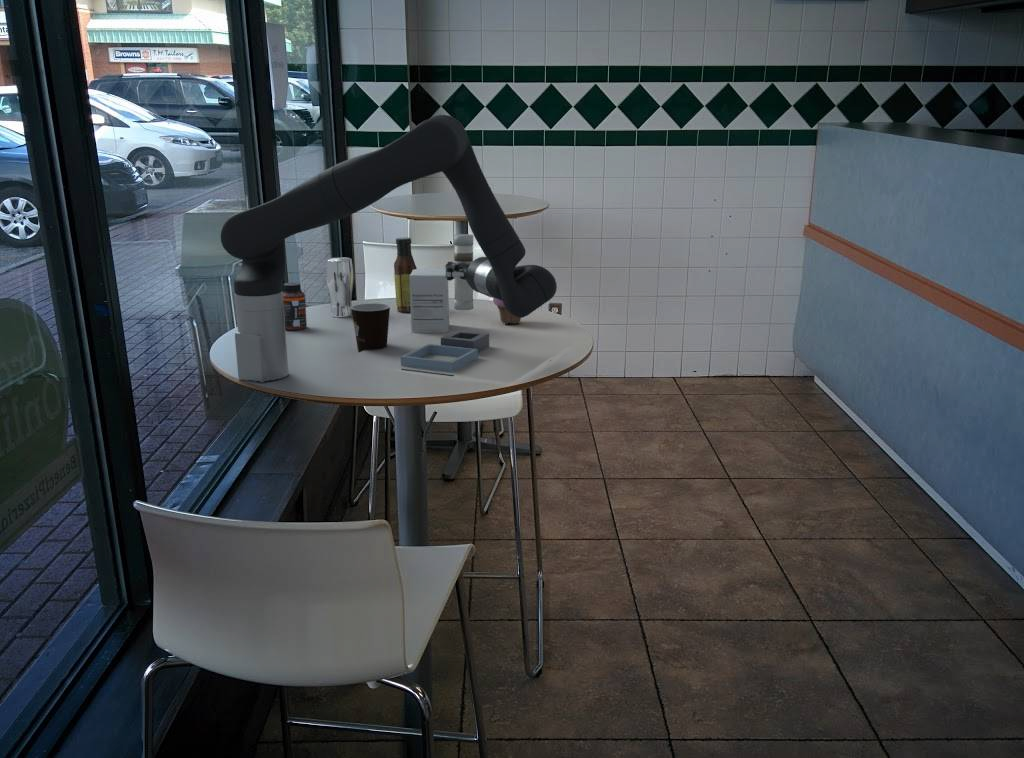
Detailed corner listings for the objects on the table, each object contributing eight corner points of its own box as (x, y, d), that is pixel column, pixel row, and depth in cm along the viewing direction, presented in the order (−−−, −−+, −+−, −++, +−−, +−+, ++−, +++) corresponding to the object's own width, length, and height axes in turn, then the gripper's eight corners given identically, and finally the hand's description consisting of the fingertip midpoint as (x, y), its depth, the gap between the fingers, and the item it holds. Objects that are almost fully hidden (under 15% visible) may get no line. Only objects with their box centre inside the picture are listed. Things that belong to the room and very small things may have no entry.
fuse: (468, 310, 194) (468, 236, 189) (450, 309, 195) (450, 235, 191) (476, 307, 197) (476, 234, 193) (459, 305, 199) (459, 233, 194)
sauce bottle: (423, 309, 245) (421, 237, 239) (412, 314, 239) (409, 239, 234) (403, 307, 247) (400, 235, 242) (391, 312, 242) (388, 238, 236)
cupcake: (526, 319, 233) (527, 281, 230) (528, 327, 224) (528, 287, 222) (492, 320, 232) (492, 282, 230) (493, 327, 224) (493, 288, 221)
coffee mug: (390, 355, 197) (388, 310, 195) (351, 355, 197) (348, 311, 194) (393, 342, 208) (391, 300, 206) (356, 343, 208) (354, 300, 205)
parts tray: (452, 376, 181) (452, 362, 180) (401, 370, 185) (400, 356, 185) (478, 362, 191) (477, 349, 191) (428, 356, 196) (428, 343, 195)
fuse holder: (478, 359, 193) (478, 341, 192) (436, 354, 197) (435, 337, 196) (494, 351, 201) (493, 334, 199) (452, 346, 205) (452, 329, 203)
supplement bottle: (303, 331, 220) (300, 285, 216) (279, 331, 220) (276, 285, 217) (309, 325, 225) (306, 281, 222) (286, 325, 225) (283, 281, 222)
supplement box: (414, 328, 223) (412, 268, 219) (449, 328, 223) (448, 268, 219) (410, 336, 214) (408, 274, 210) (447, 336, 214) (446, 274, 210)
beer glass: (329, 312, 241) (326, 257, 237) (355, 312, 241) (353, 257, 237) (327, 318, 234) (324, 261, 230) (354, 317, 235) (351, 261, 231)
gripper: (523, 257, 183) (487, 247, 198) (459, 261, 177) (428, 250, 192) (522, 293, 186) (487, 280, 200) (459, 298, 179) (428, 284, 194)
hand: (458, 265), depth 196 cm, fingers closed on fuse, 4 cm apart
